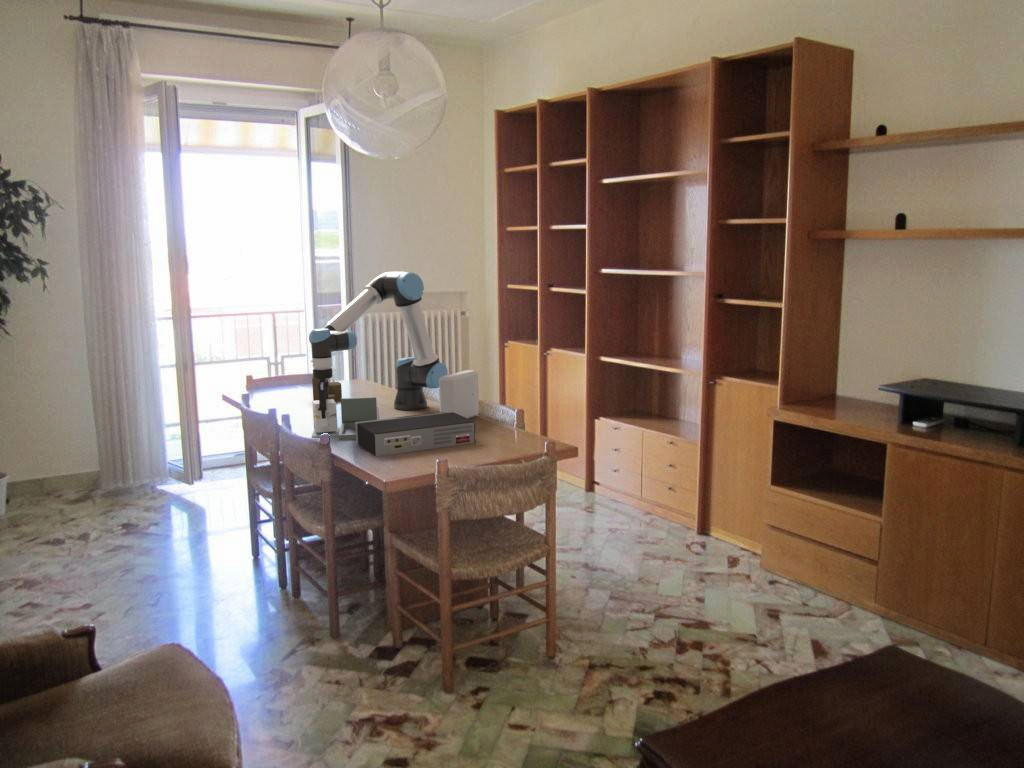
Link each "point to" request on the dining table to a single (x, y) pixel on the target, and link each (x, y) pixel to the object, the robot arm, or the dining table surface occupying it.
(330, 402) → the ink box
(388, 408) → the dining table surface
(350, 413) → the grey angled piece
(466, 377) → the white upright slab
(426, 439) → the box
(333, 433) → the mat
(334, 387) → the brown stepped block
